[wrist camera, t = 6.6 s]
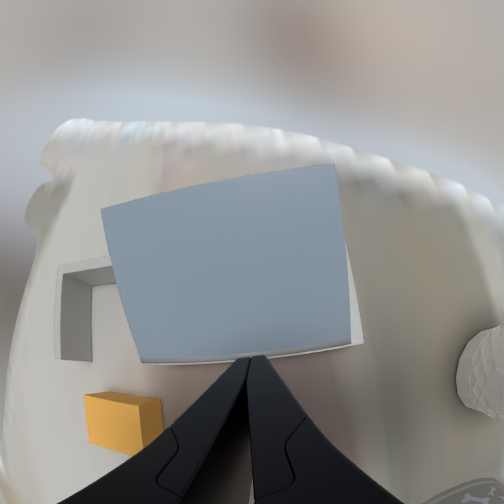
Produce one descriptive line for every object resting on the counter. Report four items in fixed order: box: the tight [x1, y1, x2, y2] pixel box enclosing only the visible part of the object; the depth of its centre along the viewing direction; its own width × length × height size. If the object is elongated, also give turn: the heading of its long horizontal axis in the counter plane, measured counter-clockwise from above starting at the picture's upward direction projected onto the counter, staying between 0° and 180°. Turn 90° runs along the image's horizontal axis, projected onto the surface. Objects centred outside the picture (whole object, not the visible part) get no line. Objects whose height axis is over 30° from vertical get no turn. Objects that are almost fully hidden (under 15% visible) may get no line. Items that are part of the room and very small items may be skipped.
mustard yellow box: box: [84, 392, 163, 456], centre depth 16 cm, size 4×5×4 cm
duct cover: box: [101, 164, 351, 363], centre depth 14 cm, size 9×12×1 cm
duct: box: [54, 243, 364, 365], centre depth 18 cm, size 8×22×4 cm, turn 96°
